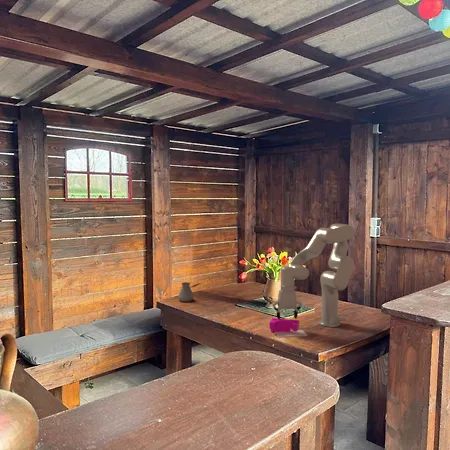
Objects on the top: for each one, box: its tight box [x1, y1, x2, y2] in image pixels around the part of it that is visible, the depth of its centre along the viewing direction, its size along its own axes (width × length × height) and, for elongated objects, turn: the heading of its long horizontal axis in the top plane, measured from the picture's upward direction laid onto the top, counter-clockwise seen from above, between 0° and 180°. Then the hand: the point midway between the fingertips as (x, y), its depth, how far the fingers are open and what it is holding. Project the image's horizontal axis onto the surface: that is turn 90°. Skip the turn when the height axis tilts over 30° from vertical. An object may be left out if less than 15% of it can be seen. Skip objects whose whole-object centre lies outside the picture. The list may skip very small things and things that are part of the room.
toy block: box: [269, 317, 300, 333], centre depth 222 cm, size 15×6×8 cm
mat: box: [274, 329, 308, 338], centre depth 221 cm, size 16×9×1 cm, turn 97°
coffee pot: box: [178, 281, 201, 303], centre depth 289 cm, size 21×12×15 cm, turn 45°
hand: (287, 318), depth 227 cm, fingers open, 9 cm apart
